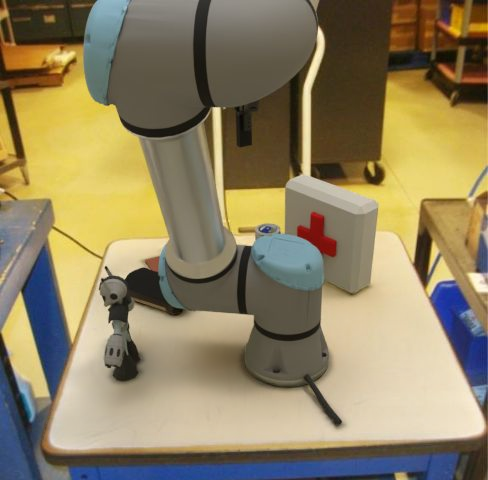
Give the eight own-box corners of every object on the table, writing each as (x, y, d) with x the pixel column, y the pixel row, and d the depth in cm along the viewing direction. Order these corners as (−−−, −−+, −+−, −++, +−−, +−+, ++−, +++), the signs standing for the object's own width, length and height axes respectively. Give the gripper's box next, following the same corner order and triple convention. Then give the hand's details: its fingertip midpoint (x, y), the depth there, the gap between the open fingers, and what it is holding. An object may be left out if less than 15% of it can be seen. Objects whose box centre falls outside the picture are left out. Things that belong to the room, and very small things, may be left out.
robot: (134, 402, 104) (117, 304, 92) (105, 404, 104) (84, 305, 92) (146, 334, 120) (132, 242, 108) (121, 335, 120) (105, 243, 108)
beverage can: (273, 300, 128) (273, 235, 119) (252, 294, 130) (250, 230, 121) (284, 288, 132) (285, 225, 123) (263, 283, 134) (262, 220, 125)
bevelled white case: (277, 264, 140) (278, 181, 128) (301, 252, 144) (304, 170, 133) (349, 300, 127) (357, 212, 115) (373, 286, 131) (383, 199, 120)
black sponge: (202, 298, 129) (201, 283, 127) (178, 318, 124) (177, 303, 121) (141, 279, 136) (139, 265, 134) (116, 297, 131) (113, 283, 128)
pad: (235, 254, 144) (235, 253, 144) (155, 275, 138) (155, 274, 137) (222, 241, 150) (222, 240, 150) (144, 260, 143) (144, 259, 143)
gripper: (277, 18, 107) (276, 151, 120) (242, 8, 116) (245, 133, 130) (239, 22, 104) (243, 158, 117) (206, 12, 113) (213, 139, 127)
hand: (244, 145), depth 124 cm, fingers closed
